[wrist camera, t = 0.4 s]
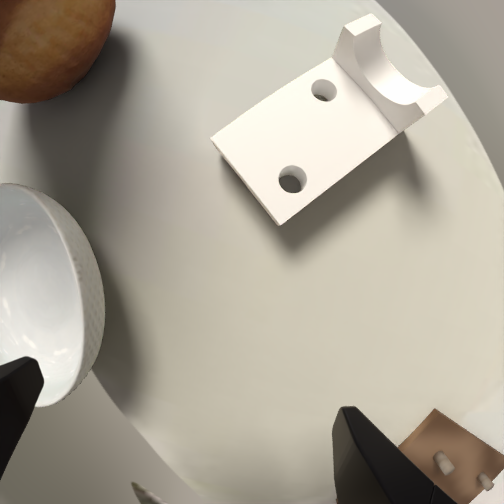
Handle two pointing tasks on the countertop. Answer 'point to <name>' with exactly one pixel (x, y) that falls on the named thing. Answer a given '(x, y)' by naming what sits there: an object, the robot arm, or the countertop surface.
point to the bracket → (324, 122)
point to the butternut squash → (49, 45)
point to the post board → (453, 457)
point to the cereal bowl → (48, 291)
